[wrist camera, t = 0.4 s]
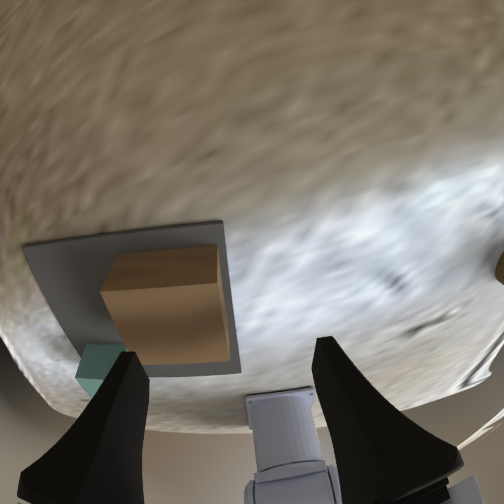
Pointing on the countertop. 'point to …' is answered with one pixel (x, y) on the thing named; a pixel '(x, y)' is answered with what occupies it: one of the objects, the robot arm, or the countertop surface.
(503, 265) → the cork
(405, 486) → the robot arm
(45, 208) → the countertop surface
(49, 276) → the mat
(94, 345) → the teal block
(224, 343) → the walnut block
